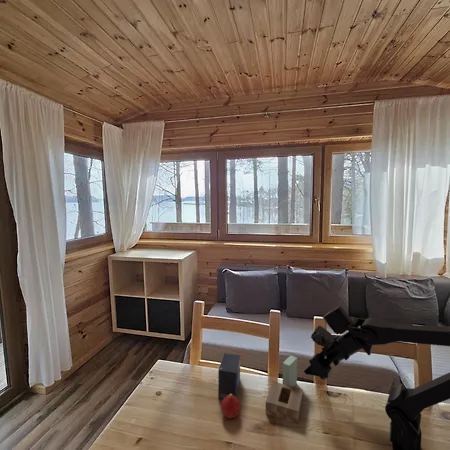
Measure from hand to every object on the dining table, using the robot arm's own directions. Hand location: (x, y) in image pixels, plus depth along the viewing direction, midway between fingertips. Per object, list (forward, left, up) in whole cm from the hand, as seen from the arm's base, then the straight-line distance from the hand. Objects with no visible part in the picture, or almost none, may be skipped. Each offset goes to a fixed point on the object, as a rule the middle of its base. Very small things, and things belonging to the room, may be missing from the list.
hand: (310, 365), depth 90 cm
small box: (+26, +8, -12) cm, 30 cm away
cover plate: (+7, -2, -12) cm, 14 cm away
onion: (+20, +19, -12) cm, 31 cm away
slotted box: (+6, +8, -12) cm, 16 cm away
